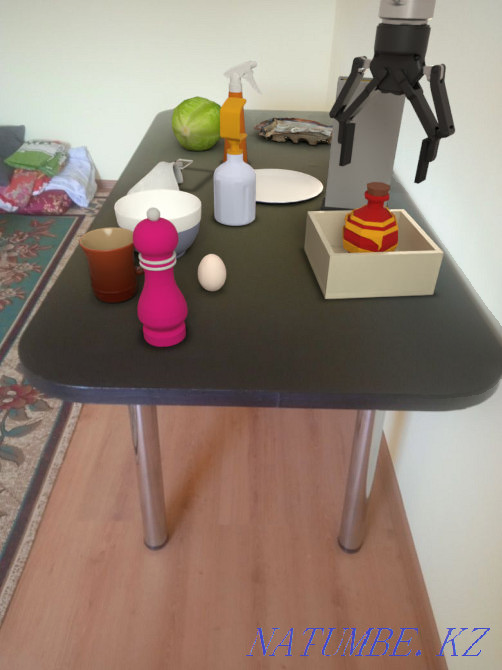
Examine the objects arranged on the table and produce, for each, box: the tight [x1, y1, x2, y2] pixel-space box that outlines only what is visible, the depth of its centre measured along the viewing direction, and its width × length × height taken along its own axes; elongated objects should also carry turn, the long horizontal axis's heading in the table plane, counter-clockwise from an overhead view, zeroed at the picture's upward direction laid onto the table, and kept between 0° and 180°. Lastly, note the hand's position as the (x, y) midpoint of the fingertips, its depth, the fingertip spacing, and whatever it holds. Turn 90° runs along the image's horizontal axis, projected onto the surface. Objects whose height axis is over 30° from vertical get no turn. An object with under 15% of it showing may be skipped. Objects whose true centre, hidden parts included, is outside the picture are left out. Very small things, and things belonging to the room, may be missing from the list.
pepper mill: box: [133, 208, 189, 348], centre depth 72 cm, size 7×7×20 cm
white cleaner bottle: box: [213, 97, 257, 227], centre depth 108 cm, size 9×9×25 cm
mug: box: [78, 226, 145, 304], centre depth 85 cm, size 12×9×10 cm
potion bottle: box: [343, 182, 399, 253], centre depth 91 cm, size 10×10×15 cm
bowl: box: [113, 189, 202, 260], centre depth 98 cm, size 16×16×10 cm
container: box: [320, 75, 407, 211], centre depth 109 cm, size 7×18×30 cm, turn 80°
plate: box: [254, 168, 324, 205], centre depth 131 cm, size 25×25×1 cm
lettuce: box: [171, 95, 222, 152], centre depth 155 cm, size 15×23×16 cm
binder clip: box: [173, 158, 194, 177], centre depth 135 cm, size 6×4×6 cm, turn 162°
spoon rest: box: [126, 160, 184, 195], centre depth 120 cm, size 24×12×7 cm, turn 173°
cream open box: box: [303, 208, 445, 300], centre depth 93 cm, size 19×19×8 cm
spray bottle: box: [222, 60, 263, 164], centre depth 140 cm, size 7×11×26 cm, turn 72°
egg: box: [197, 253, 227, 292], centre depth 87 cm, size 5×5×7 cm
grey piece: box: [253, 117, 333, 146], centre depth 169 cm, size 30×22×5 cm
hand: (380, 172), depth 85 cm, fingers open, 13 cm apart
